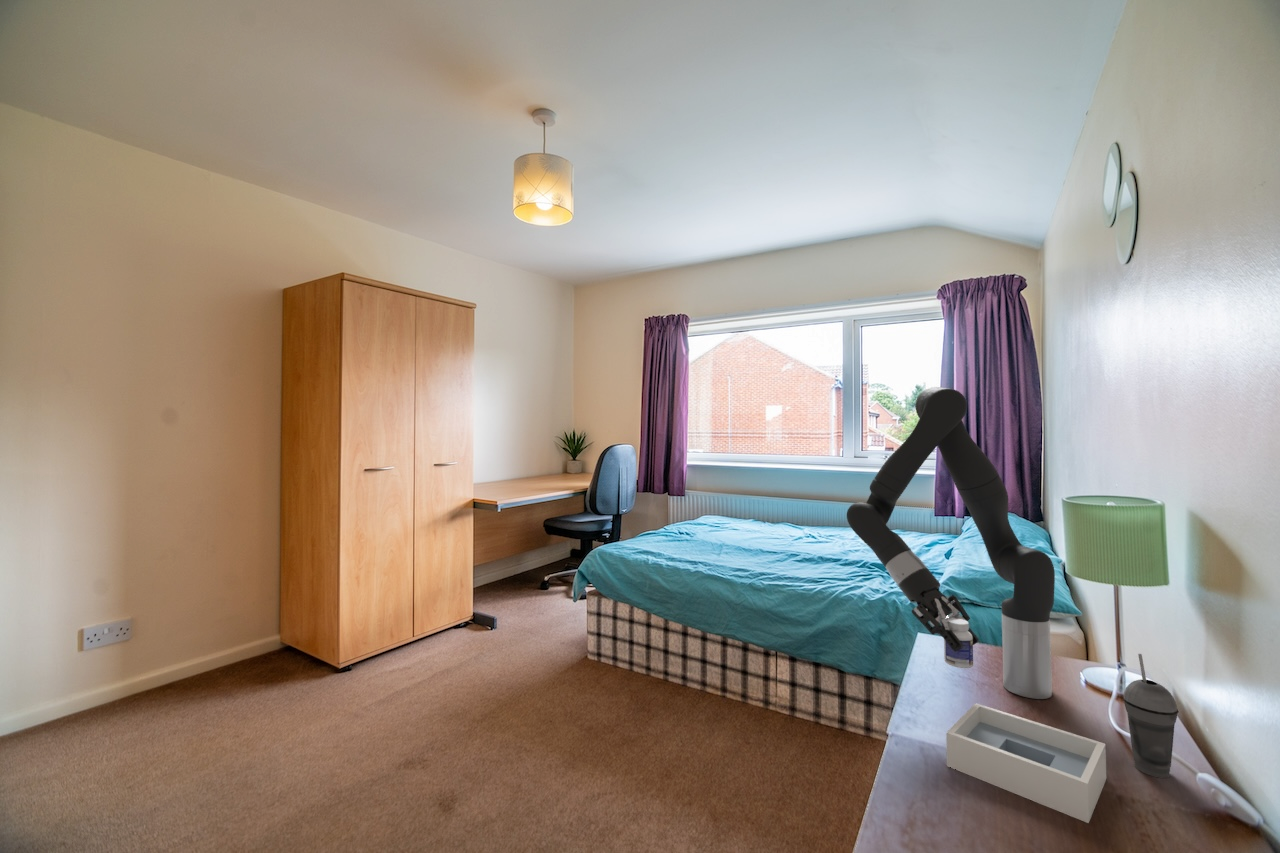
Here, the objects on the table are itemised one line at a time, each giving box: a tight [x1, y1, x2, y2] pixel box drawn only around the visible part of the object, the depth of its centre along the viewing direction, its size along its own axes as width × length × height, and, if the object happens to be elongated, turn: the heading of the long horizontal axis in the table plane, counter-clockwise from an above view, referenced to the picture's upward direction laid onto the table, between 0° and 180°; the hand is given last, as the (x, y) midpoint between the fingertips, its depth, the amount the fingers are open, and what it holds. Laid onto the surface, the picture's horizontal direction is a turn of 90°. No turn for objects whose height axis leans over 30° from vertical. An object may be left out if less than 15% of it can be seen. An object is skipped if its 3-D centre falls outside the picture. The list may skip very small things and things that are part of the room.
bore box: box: [945, 702, 1107, 824], centre depth 97 cm, size 16×20×6 cm
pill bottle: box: [943, 618, 974, 669], centre depth 115 cm, size 5×5×9 cm
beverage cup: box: [1122, 653, 1179, 779], centre depth 97 cm, size 7×7×20 cm
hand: (967, 646), depth 114 cm, fingers closed on pill bottle, 5 cm apart
